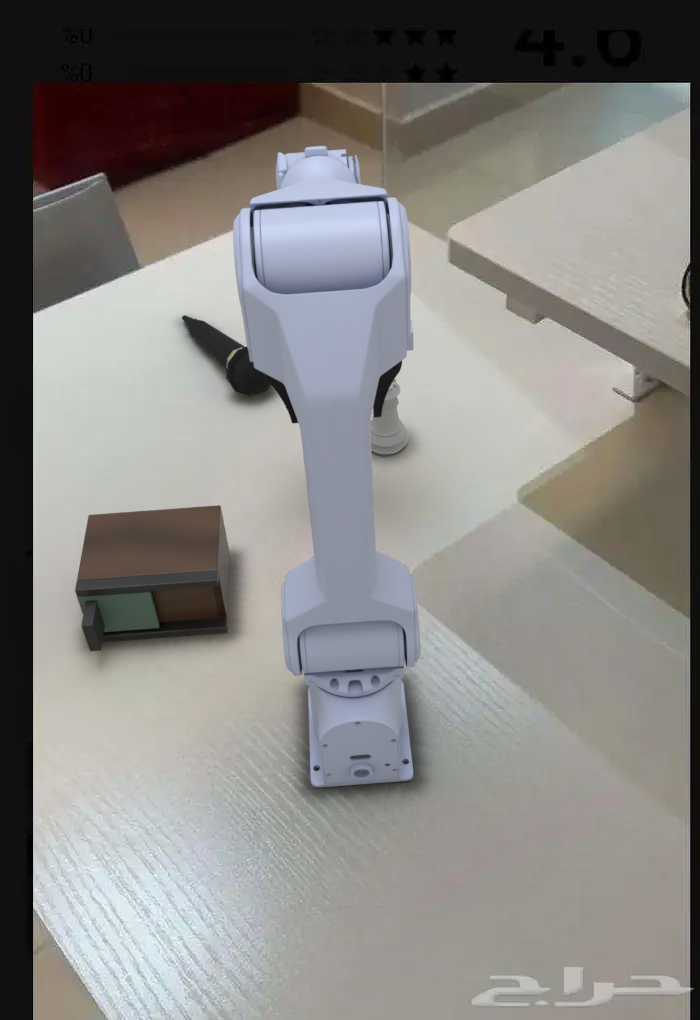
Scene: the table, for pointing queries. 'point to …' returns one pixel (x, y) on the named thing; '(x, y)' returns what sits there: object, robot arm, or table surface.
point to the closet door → (116, 615)
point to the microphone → (229, 357)
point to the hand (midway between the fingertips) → (336, 413)
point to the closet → (161, 567)
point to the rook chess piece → (388, 426)
